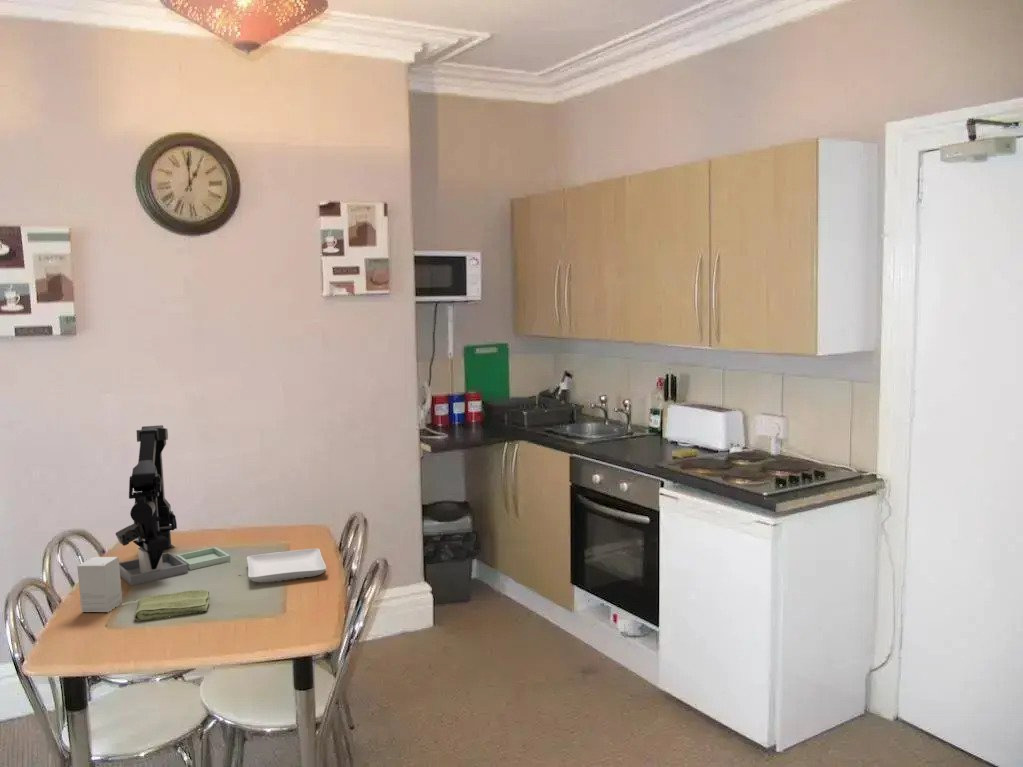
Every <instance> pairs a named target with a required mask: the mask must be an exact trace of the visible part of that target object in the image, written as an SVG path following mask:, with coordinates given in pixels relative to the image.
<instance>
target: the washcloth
mask: <svg viewBox="0 0 1023 767" xmlns="http://www.w3.org/2000/svg"><path fill="white" fill-rule="evenodd" d="M209 596H210V590H206V589H199V590H198V589H196V590H195V589H193V590H184V591H180V592H179V591H178V592H174V593H173V592H172V593H165V594H164V593H163V594H154V595H147V596H145V597H141V598H140V599H138V601H137V608H136V610H135V611H134V615H133V618H134V620H135V621H137V622H143V621H144V622H145V621H150V620H151V621H152V619H154V620H159V619H158V618H160V619H166V618H165V617H168V618H170V617H169V616H174V617H178V616H177V615H180V616H184V615H183V614H186V615H191V613H193V614H199V613H198V612H202V613H204V612H203V611H206V612H207V611H208V606H209V602H210V598H209Z"/></svg>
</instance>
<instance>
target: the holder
mask: <svg viewBox="0 0 1023 767" xmlns="http://www.w3.org/2000/svg"><path fill="white" fill-rule="evenodd" d="M175 556H176V557H178V558H179V559H181V560H182V561H183V562H185V563H186V564H187V565H188V571H192V570H196V569H200V568H205V567H209V566H215V565H219V564H223V563H229V564H231V563H232V562H231V554H228V553H227V552H225V551H223V550H222V549H220V548H218V547H216V546H213V547H208V548H207V547H206V548H203V549H199V550H194V551H193V550H192V551H189V552H184V553H179V554H175ZM230 562H231V563H230Z"/></svg>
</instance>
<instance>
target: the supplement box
mask: <svg viewBox="0 0 1023 767" xmlns="http://www.w3.org/2000/svg"><path fill="white" fill-rule="evenodd" d="M119 560H120V559H119V556H93V557H91V558H90V557H89V558H88V559H87V560H84V562H81V563H79V565H77V566H76V567H77V576H78V578H77V579H78V589H79V596H80V606H81V613H82V612H108V613H110V612H112V611H113V610H114V609H116V608H117V607H119V606H121V605H122V604H123V592H122V581H121V576H120V568H119V563H120V561H119ZM115 607H116V608H115ZM112 609H113V610H112ZM109 611H110V612H109Z"/></svg>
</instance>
